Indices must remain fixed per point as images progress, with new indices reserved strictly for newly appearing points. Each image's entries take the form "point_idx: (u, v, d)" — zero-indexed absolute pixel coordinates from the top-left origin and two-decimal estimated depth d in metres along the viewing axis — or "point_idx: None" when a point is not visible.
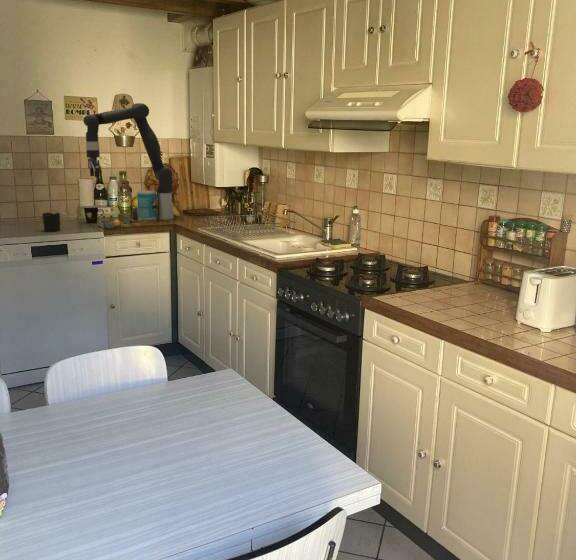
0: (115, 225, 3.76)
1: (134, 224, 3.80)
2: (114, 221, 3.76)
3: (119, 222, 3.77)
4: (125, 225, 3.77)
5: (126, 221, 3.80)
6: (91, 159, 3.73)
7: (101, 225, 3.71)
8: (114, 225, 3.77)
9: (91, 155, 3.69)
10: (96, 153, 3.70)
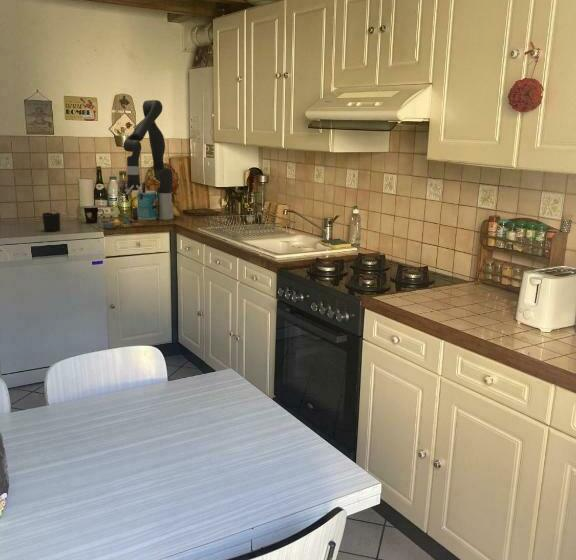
0: (115, 225, 3.76)
1: (134, 224, 3.80)
2: (114, 221, 3.76)
3: (119, 222, 3.77)
4: (125, 225, 3.77)
5: (126, 221, 3.80)
6: (133, 183, 3.77)
7: (101, 225, 3.71)
8: (114, 225, 3.77)
9: (139, 179, 3.78)
10: None
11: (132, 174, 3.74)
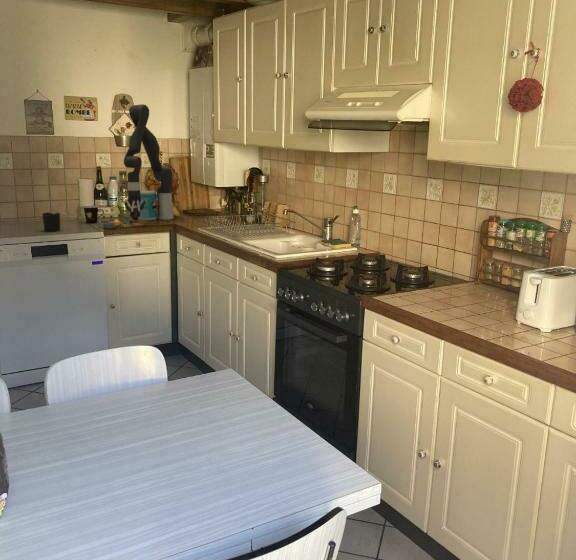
0: (115, 225, 3.76)
1: (134, 224, 3.80)
2: (114, 221, 3.76)
3: (119, 222, 3.77)
4: (125, 225, 3.77)
5: (126, 221, 3.80)
6: (134, 199, 3.80)
7: (101, 225, 3.71)
8: (114, 225, 3.77)
9: (140, 195, 3.80)
10: None
11: (133, 190, 3.76)
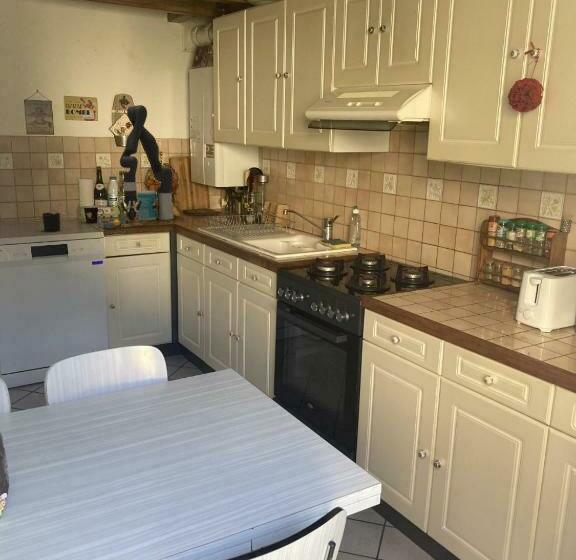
0: (115, 225, 3.76)
1: (134, 224, 3.80)
2: (114, 221, 3.76)
3: (119, 222, 3.77)
4: (125, 225, 3.77)
5: (122, 221, 3.79)
6: (130, 199, 3.78)
7: (101, 225, 3.71)
8: (114, 225, 3.77)
9: (136, 195, 3.79)
10: None
11: (129, 190, 3.74)
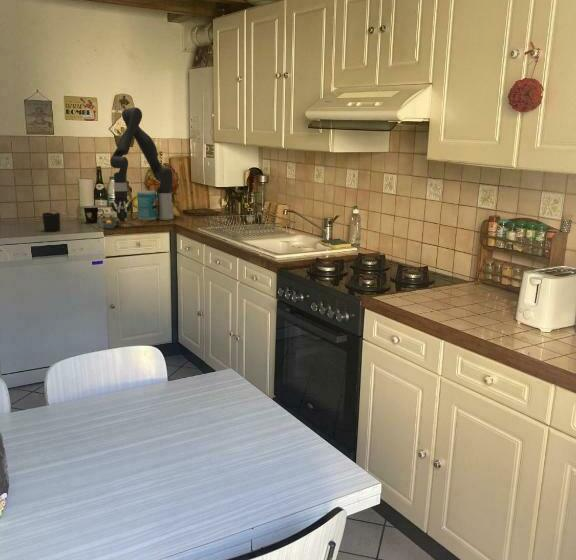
0: None
1: (134, 224, 3.80)
2: None
3: (108, 222, 3.73)
4: (125, 225, 3.77)
5: (113, 222, 3.75)
6: (121, 200, 3.75)
7: (101, 225, 3.71)
8: None
9: None
10: None
11: (119, 191, 3.71)
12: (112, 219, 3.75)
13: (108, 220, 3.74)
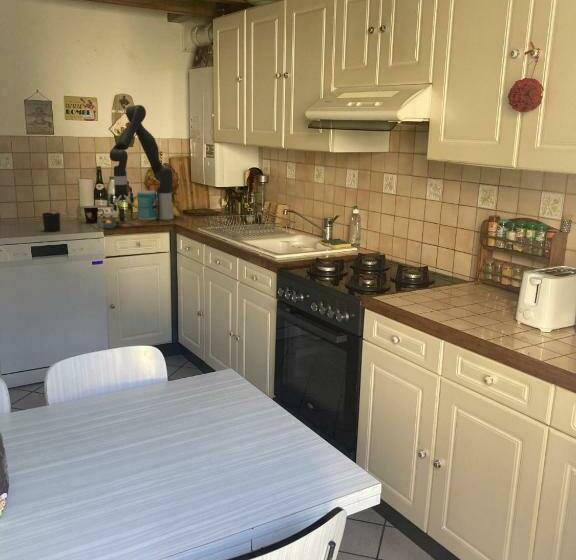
0: None
1: (134, 224, 3.80)
2: None
3: (107, 222, 3.73)
4: (125, 225, 3.77)
5: (113, 222, 3.75)
6: (121, 193, 3.74)
7: (101, 225, 3.71)
8: None
9: None
10: None
11: (119, 184, 3.70)
12: (112, 219, 3.75)
13: (108, 220, 3.74)
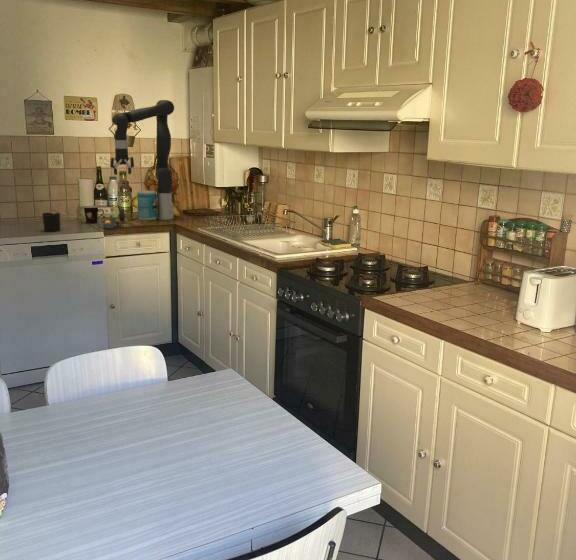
0: None
1: (134, 224, 3.80)
2: None
3: None
4: (125, 225, 3.77)
5: (113, 222, 3.75)
6: (122, 157, 3.80)
7: (101, 225, 3.71)
8: None
9: (127, 153, 3.80)
10: None
11: (120, 148, 3.76)
12: (112, 219, 3.75)
13: (105, 221, 3.73)
